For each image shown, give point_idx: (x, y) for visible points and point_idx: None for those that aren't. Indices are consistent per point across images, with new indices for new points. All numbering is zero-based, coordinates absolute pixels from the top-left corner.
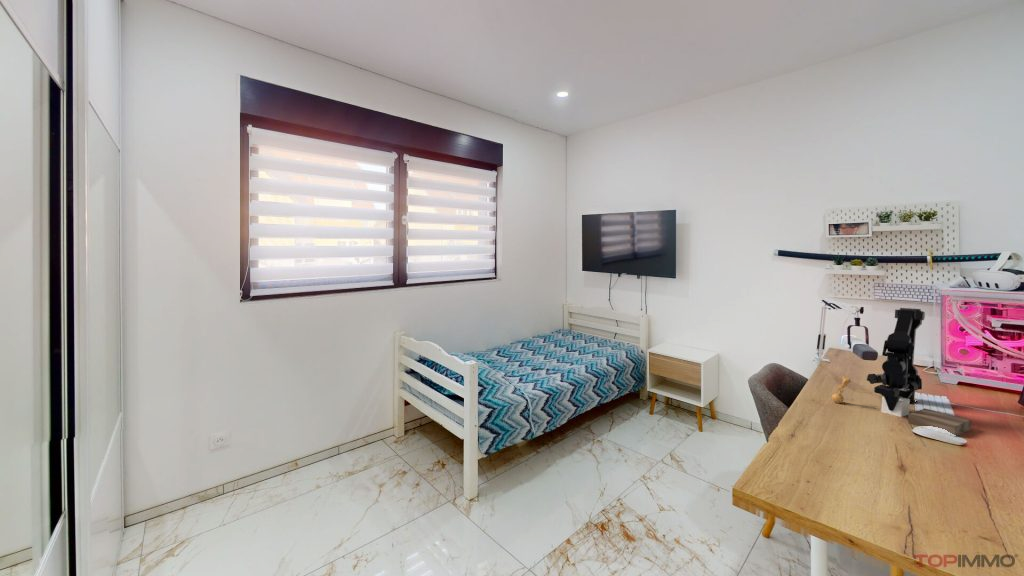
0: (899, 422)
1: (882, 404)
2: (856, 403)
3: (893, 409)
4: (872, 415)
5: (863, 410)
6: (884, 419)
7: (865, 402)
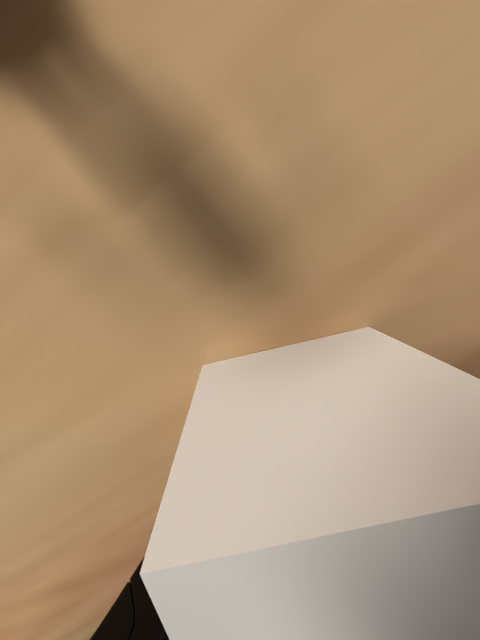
0: (104, 566)
1: (189, 426)
2: (179, 46)
3: None
4: (9, 422)
5: (36, 293)
6: (37, 507)
7: (350, 48)
